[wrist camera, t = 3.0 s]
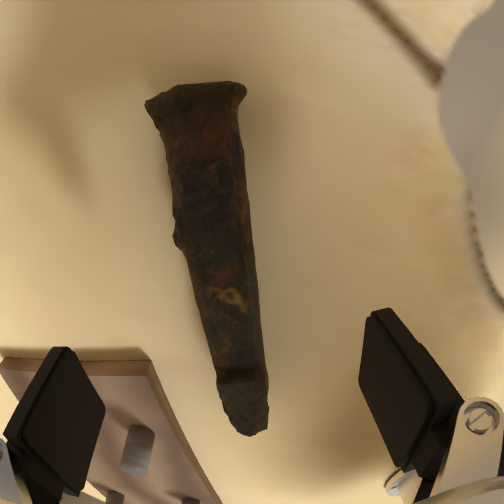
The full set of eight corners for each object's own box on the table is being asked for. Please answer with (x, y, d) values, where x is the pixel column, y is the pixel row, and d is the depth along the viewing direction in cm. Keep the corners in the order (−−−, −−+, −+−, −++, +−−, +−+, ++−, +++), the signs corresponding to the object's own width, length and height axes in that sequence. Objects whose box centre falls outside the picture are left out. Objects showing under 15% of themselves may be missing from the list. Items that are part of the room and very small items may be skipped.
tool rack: (150, 360, 18) (133, 419, 13) (224, 506, 27) (225, 539, 23) (5, 357, 18) (-23, 395, 13) (121, 500, 27) (115, 529, 22)
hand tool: (160, 99, 13) (129, 85, 9) (244, 89, 13) (248, 68, 9) (211, 398, 20) (208, 451, 15) (268, 394, 20) (275, 447, 16)
